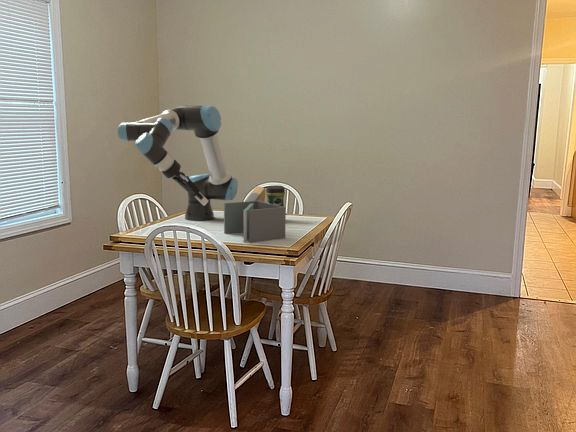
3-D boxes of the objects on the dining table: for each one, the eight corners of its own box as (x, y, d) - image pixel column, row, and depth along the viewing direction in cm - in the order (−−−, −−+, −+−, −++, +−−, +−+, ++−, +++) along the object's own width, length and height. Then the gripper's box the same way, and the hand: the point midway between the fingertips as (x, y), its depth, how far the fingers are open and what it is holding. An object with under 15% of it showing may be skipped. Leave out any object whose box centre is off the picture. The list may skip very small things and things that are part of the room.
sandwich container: (233, 214, 307) (233, 187, 305) (255, 212, 317) (255, 186, 315) (242, 216, 301) (242, 189, 298) (265, 214, 311) (265, 187, 308)
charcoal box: (249, 242, 235) (250, 210, 232) (224, 233, 254) (223, 203, 252) (285, 238, 245) (285, 207, 242) (257, 229, 264) (257, 200, 262)
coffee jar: (281, 219, 294) (281, 184, 291) (286, 221, 287) (286, 186, 284) (264, 219, 291) (264, 184, 288) (268, 222, 284) (269, 186, 281)
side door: (243, 241, 235) (243, 210, 233) (250, 232, 256) (250, 203, 253) (246, 242, 235) (246, 210, 233) (253, 232, 256) (253, 203, 253)
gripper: (155, 170, 227) (194, 207, 239) (167, 173, 216) (207, 212, 228) (167, 157, 229) (205, 194, 241) (180, 159, 218) (218, 198, 230)
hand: (206, 203), depth 235 cm, fingers closed
